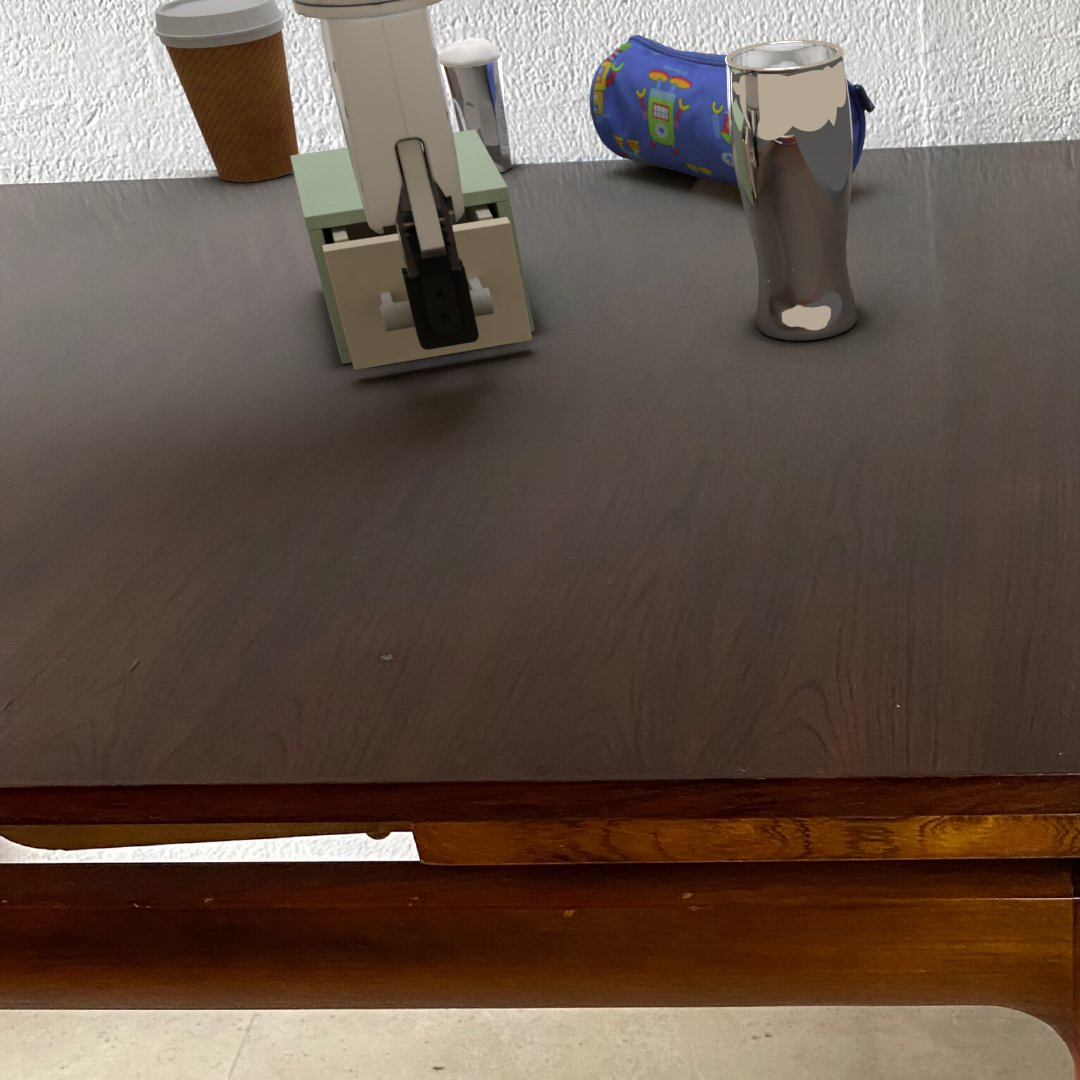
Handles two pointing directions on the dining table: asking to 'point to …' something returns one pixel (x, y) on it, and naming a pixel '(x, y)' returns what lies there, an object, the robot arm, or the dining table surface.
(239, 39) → the disposable coffee cup
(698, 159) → the pencil case
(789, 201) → the beer glass
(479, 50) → the milkshake
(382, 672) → the dining table surface
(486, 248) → the drawer
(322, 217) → the cabinet
